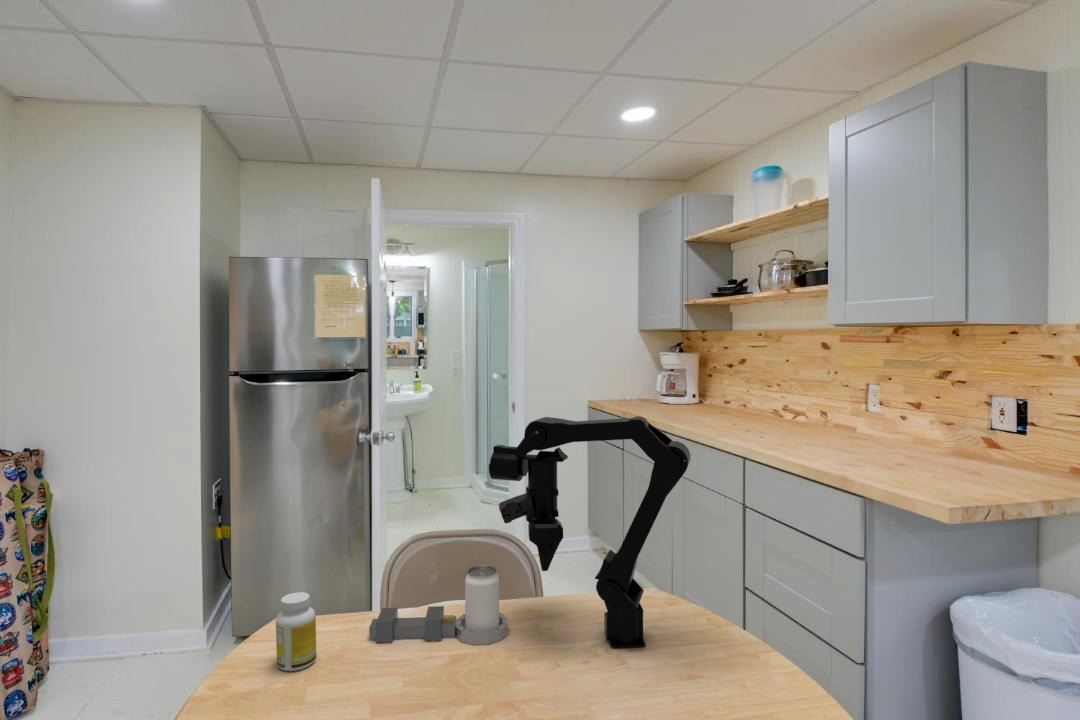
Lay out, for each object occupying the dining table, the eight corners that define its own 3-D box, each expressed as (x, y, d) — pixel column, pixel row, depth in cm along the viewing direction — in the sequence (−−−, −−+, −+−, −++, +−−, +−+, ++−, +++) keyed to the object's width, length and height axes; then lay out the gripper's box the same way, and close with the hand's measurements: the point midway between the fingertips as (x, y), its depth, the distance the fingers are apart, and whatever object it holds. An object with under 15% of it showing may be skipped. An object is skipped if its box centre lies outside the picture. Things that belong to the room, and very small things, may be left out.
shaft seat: (507, 619, 123) (507, 599, 123) (508, 643, 113) (507, 622, 113) (376, 623, 121) (376, 604, 121) (365, 649, 111) (365, 627, 111)
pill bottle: (324, 658, 108) (323, 593, 108) (296, 676, 102) (294, 608, 102) (297, 650, 111) (296, 587, 111) (268, 667, 105) (267, 601, 105)
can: (501, 625, 121) (501, 565, 120) (496, 641, 114) (495, 577, 114) (469, 624, 121) (468, 564, 121) (462, 639, 115) (461, 576, 115)
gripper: (501, 473, 128) (501, 547, 128) (501, 495, 109) (501, 581, 109) (554, 472, 128) (554, 545, 129) (563, 494, 110) (563, 580, 110)
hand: (542, 561), depth 119 cm, fingers open, 9 cm apart
